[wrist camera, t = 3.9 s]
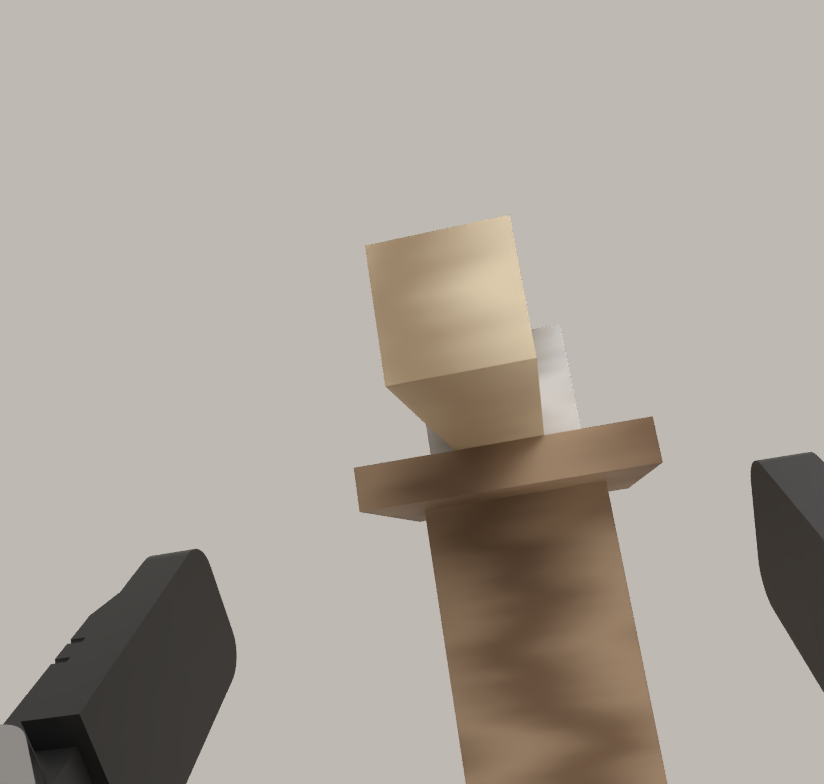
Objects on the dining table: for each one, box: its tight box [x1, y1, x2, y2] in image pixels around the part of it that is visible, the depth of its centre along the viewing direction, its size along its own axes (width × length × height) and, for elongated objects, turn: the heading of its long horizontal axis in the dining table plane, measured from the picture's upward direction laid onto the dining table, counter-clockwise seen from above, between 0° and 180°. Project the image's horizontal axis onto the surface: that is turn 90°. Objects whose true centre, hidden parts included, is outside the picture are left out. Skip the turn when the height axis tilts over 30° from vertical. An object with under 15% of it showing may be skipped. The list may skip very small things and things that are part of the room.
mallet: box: [365, 215, 581, 455], centre depth 26 cm, size 6×22×5 cm, turn 169°
